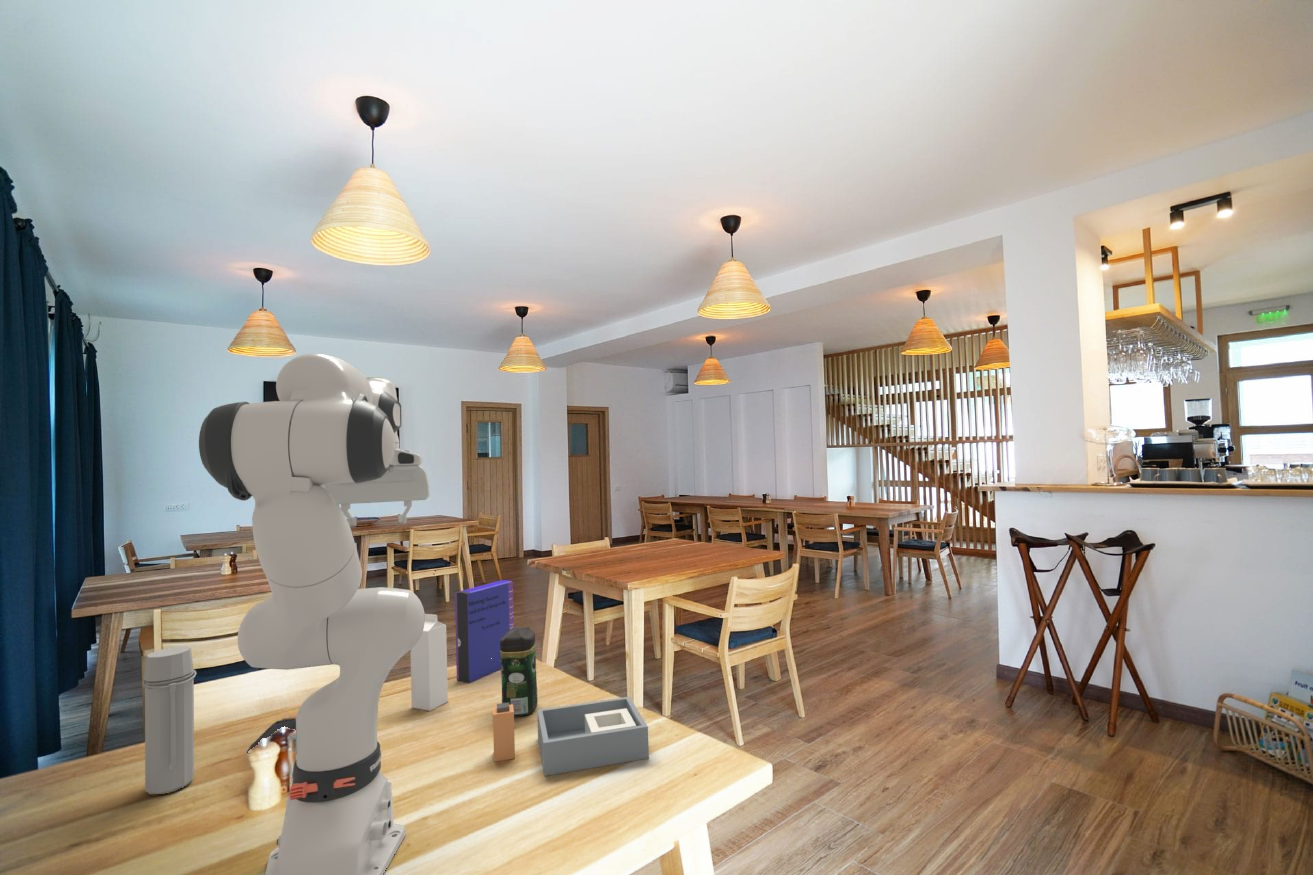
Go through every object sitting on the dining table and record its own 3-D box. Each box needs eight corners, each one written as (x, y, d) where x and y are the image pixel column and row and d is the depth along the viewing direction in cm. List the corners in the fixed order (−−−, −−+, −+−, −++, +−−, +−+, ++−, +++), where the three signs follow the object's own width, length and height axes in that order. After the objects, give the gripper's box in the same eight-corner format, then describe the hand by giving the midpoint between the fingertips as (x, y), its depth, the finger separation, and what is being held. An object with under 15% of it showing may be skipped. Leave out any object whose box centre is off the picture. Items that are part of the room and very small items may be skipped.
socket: (637, 745, 120) (636, 725, 120) (592, 753, 117) (591, 732, 117) (627, 727, 128) (626, 708, 128) (585, 733, 126) (584, 714, 126)
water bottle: (140, 788, 112) (140, 652, 113) (193, 771, 118) (192, 642, 119) (145, 807, 106) (145, 663, 107) (201, 788, 111) (200, 652, 112)
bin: (648, 757, 117) (647, 726, 117) (544, 775, 111) (543, 742, 112) (630, 724, 132) (629, 696, 132) (538, 738, 127) (537, 709, 127)
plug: (515, 758, 119) (513, 707, 119) (494, 761, 118) (492, 710, 118) (514, 749, 122) (513, 700, 123) (493, 752, 121) (492, 702, 122)
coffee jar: (507, 702, 147) (505, 625, 148) (540, 700, 147) (537, 624, 148) (498, 719, 137) (495, 636, 138) (532, 717, 137) (530, 635, 138)
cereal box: (503, 661, 178) (500, 579, 179) (515, 663, 176) (512, 580, 177) (456, 680, 163) (454, 591, 164) (469, 683, 161) (467, 593, 162)
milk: (429, 698, 151) (428, 610, 152) (448, 701, 149) (446, 611, 150) (411, 708, 146) (409, 615, 147) (429, 711, 143) (428, 617, 144)
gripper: (316, 458, 118) (317, 529, 117) (427, 455, 124) (429, 522, 124) (323, 459, 124) (324, 527, 123) (429, 456, 130) (430, 520, 130)
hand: (377, 524), depth 124 cm, fingers open, 8 cm apart
